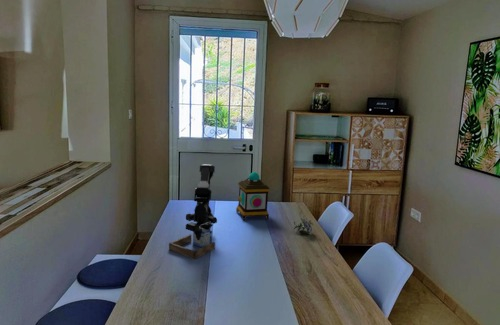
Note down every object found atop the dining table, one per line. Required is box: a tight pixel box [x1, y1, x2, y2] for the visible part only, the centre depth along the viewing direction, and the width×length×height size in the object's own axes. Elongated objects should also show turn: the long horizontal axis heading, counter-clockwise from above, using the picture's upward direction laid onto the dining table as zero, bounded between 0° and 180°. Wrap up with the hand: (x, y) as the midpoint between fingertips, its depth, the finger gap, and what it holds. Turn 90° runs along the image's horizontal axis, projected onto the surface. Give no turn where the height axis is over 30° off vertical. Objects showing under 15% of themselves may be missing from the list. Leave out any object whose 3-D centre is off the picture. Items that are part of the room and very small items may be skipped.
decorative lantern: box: [235, 171, 271, 221], centre depth 238 cm, size 20×20×30 cm
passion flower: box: [293, 217, 314, 236], centre depth 214 cm, size 11×11×12 cm
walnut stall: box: [168, 234, 216, 260], centre depth 184 cm, size 16×17×4 cm
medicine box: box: [192, 228, 211, 248], centre depth 189 cm, size 8×4×9 cm, turn 57°
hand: (201, 238), depth 190 cm, fingers open, 4 cm apart
